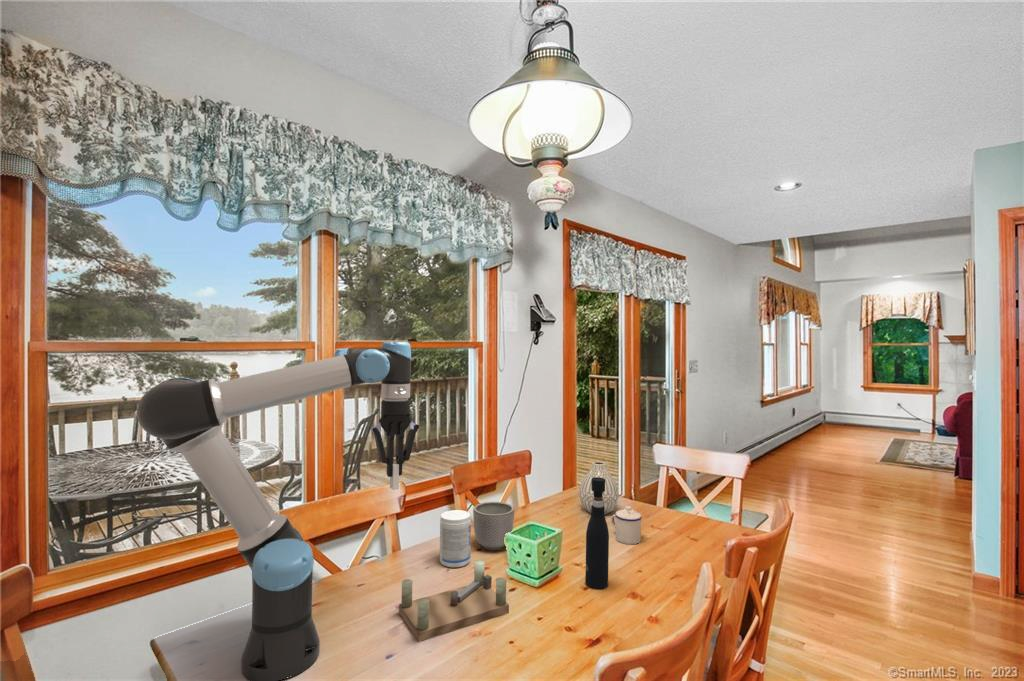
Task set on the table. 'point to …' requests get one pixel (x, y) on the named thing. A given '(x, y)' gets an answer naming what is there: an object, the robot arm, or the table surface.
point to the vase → (609, 494)
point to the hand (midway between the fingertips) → (394, 488)
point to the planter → (492, 523)
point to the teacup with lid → (627, 526)
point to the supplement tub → (455, 538)
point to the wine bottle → (597, 540)
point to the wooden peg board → (452, 608)
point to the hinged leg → (478, 580)
